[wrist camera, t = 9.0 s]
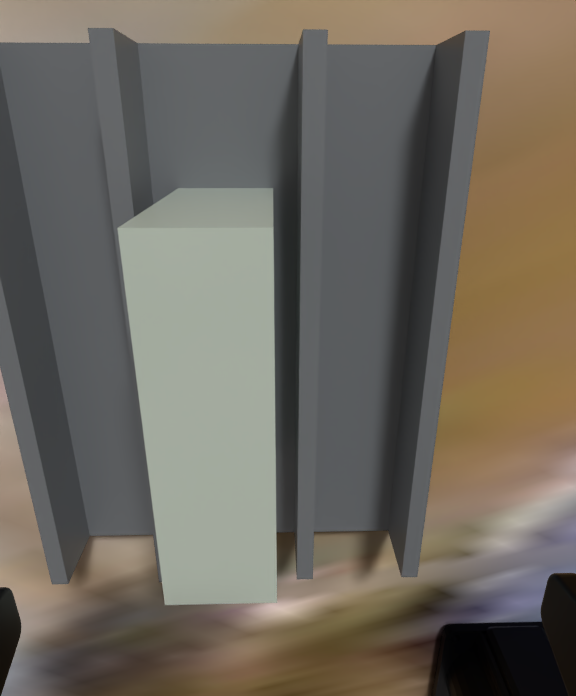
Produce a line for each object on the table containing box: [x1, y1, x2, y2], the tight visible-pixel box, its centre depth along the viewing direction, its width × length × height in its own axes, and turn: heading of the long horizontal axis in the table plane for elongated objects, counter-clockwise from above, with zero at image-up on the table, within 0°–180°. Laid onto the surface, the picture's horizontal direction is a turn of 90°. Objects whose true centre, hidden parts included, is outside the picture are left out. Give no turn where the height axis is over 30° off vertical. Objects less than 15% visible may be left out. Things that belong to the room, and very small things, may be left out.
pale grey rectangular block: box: [117, 188, 277, 605], centre depth 15 cm, size 10×3×7 cm, turn 0°
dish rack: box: [0, 28, 490, 584], centre depth 18 cm, size 18×14×4 cm
